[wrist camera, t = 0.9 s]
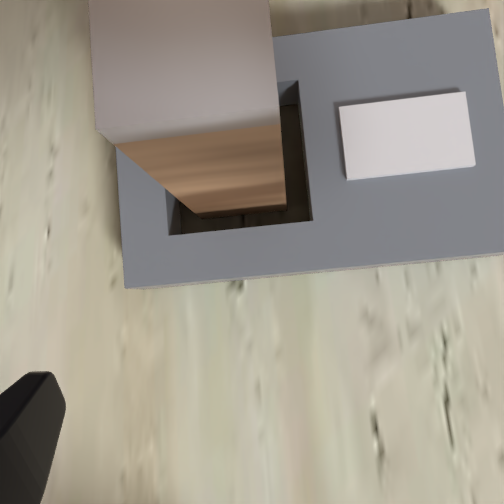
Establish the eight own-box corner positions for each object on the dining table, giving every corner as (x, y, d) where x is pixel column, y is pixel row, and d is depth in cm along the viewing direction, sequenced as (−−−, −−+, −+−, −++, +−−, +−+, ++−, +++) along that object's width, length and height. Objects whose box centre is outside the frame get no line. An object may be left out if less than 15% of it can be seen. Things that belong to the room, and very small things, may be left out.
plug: (286, 210, 22) (279, 106, 10) (201, 219, 22) (95, 129, 10) (278, 126, 22) (261, -69, 10) (195, 136, 23) (85, -42, 11)
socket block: (497, 255, 21) (528, 249, 18) (143, 289, 22) (122, 288, 19) (466, 40, 22) (491, 3, 19) (129, 84, 23) (107, 55, 20)
